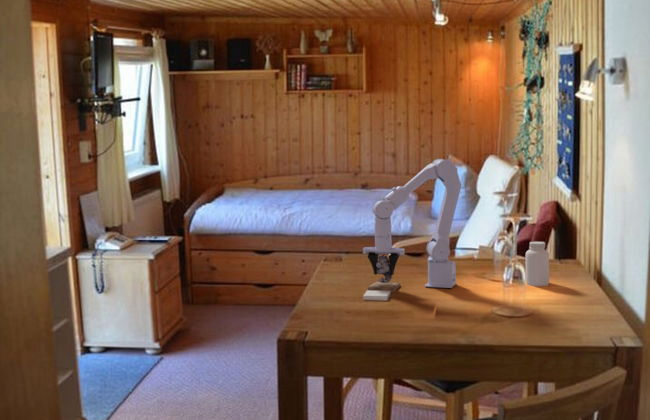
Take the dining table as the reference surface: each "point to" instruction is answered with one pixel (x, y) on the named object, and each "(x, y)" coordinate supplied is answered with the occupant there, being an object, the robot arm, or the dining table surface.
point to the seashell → (383, 269)
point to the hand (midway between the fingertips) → (384, 274)
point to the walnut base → (384, 286)
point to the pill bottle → (537, 265)
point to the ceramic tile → (376, 295)
